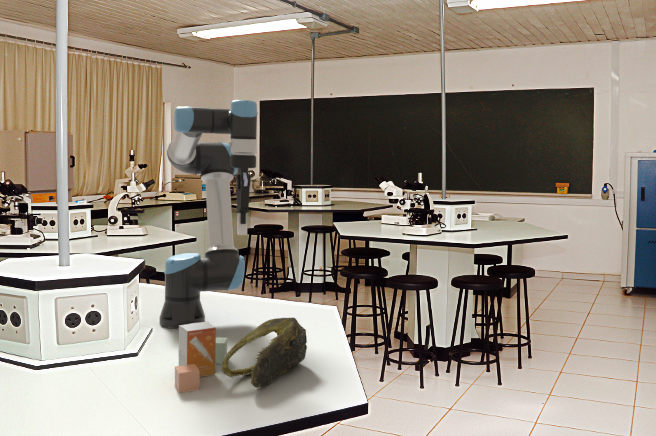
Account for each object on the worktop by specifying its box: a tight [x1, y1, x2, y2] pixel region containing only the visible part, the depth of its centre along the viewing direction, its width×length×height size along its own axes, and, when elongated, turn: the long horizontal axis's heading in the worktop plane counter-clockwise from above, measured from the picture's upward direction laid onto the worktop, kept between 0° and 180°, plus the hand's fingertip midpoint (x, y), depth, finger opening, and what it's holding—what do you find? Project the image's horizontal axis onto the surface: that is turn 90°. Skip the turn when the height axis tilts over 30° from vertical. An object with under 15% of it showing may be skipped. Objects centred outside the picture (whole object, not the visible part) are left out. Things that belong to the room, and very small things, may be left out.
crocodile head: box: [221, 317, 308, 388], centre depth 161 cm, size 27×17×15 cm
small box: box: [178, 321, 217, 378], centre depth 160 cm, size 8×6×13 cm
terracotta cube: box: [174, 364, 200, 393], centre depth 151 cm, size 5×5×5 cm
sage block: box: [215, 336, 228, 365], centre depth 170 cm, size 5×5×6 cm
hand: (242, 234), depth 179 cm, fingers closed
